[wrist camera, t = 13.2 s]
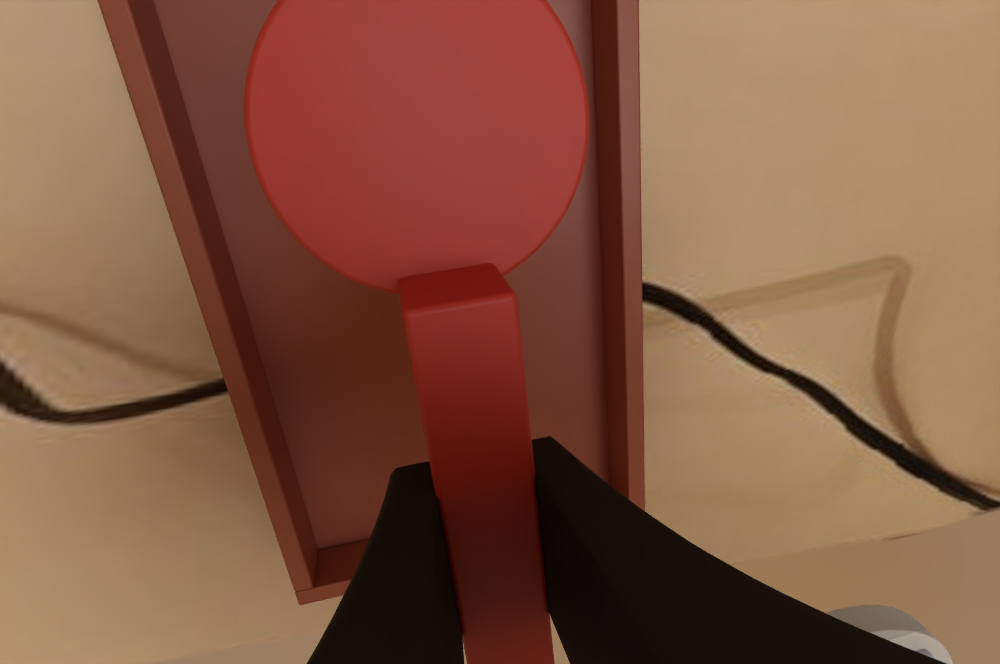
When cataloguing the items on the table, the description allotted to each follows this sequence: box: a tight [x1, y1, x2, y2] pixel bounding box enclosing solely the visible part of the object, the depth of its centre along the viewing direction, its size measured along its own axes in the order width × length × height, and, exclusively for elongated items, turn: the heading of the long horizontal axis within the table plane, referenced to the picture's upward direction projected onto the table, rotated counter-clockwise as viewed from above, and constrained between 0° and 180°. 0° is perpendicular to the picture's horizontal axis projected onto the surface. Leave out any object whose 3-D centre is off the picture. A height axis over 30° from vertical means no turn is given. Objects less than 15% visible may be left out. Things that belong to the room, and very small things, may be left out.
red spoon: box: [244, 0, 589, 664], centre depth 9 cm, size 12×4×3 cm, turn 6°
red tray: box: [98, 0, 645, 605], centre depth 14 cm, size 16×10×2 cm, turn 6°
